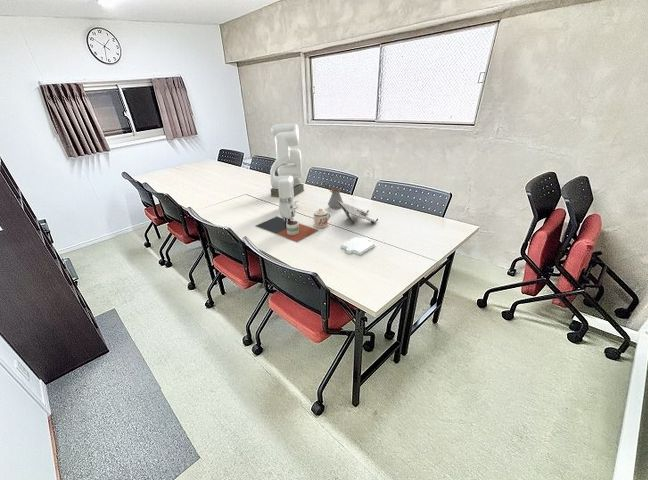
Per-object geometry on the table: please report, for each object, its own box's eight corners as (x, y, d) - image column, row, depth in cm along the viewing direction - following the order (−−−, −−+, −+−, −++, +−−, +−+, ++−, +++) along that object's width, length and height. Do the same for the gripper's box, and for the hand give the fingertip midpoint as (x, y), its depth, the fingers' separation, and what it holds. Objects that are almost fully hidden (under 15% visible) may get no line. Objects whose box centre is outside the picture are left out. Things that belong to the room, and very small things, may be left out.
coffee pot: (346, 207, 210) (347, 187, 202) (334, 211, 206) (334, 191, 198) (329, 200, 226) (329, 181, 218) (317, 203, 222) (317, 184, 214)
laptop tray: (373, 233, 184) (380, 221, 180) (343, 223, 177) (350, 209, 173) (360, 220, 203) (366, 208, 199) (333, 210, 196) (339, 197, 192)
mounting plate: (357, 257, 149) (357, 254, 148) (338, 249, 158) (338, 246, 157) (377, 244, 159) (377, 241, 158) (358, 238, 168) (358, 235, 167)
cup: (294, 228, 184) (294, 219, 181) (301, 232, 179) (301, 223, 175) (284, 232, 181) (283, 222, 178) (290, 236, 175) (290, 226, 172)
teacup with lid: (319, 229, 181) (318, 212, 175) (311, 225, 188) (310, 208, 182) (334, 224, 186) (334, 207, 180) (325, 220, 193) (325, 204, 187)
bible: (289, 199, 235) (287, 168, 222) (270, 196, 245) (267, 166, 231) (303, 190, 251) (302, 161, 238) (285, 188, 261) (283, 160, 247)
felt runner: (276, 216, 205) (276, 216, 204) (318, 230, 181) (318, 230, 180) (255, 226, 193) (255, 225, 193) (296, 241, 169) (296, 241, 169)
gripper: (298, 200, 172) (300, 227, 182) (281, 195, 181) (284, 222, 191) (289, 203, 168) (291, 231, 178) (272, 199, 177) (275, 226, 187)
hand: (287, 226), depth 184 cm, fingers closed
